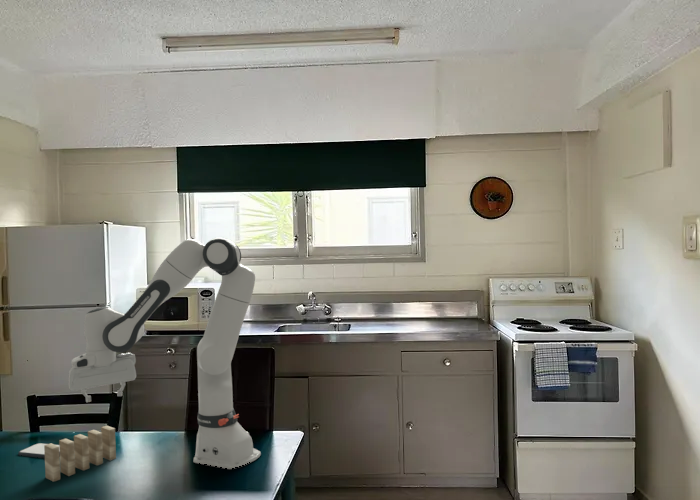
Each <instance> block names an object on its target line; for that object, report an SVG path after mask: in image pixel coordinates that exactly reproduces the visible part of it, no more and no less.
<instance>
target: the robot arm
mask: <svg viewBox="0 0 700 500" xmlns="http://www.w3.org/2000/svg"><path fill="white" fill-rule="evenodd" d="M241 259H242V252H241V249H240V248H239V246H238V245H237V244H236V243H235V242H234V241H232V240H231V239H228V238H224V237H214V238H212V239H210V240H208V242H206V244H204V243H203V242H201V241H199V240H197V239H194V238H188V239H185V240H183V241H182V242H181V243H180V244H179V245H177V246H176V247H175V248H174V249H173V250H172V251H170V253H169V254H168V255H167V256H166V258H165V259H164V260H163V261H162V262H161V264H160V265H159V267H158V268H157V270H156V271H155V273H154V274H153V276H152V278H151V280H150V281H149V283H148V285H147V287H146V288H145V290H144V292H143V293H142V294H141V295H140V296H139V297H138V298H137V300H136V301H135V302H133V304H132V306H130V308H129V309H128V310H127V311H126V312H125V313H123V312H120V311H117V310H115V309H113V308H112V307H110V306H102V307H101V306H100V307H98V308H94V309H92V310H89V311H88V312H86V314H85V316H84V322H83V324H84V326H83V327H84V339H85V340H86V346H85V353H82V354H81V355H78V356H76V357H74V358H72V359H71V361H70V363H71V367H70V369H69V371H68V389H69V390H70V391H71V392H76V391H77V392H78V391H81V394H82V395H83V396H84V397H85V402H86V403H90V402H91V403H92V396H91V395H88V394H87V390H88V389H93V388H98V387H104V386H110V385H115V384H120V388H119V389H118V390H116V393H117V394H116V395H117V397H122V396H123V391H124V389H125V387H126V382H130V381H131V382H133V381H135V380H136V378H137V371H136V367H135V365H136V363H137V359H136V355H135V354H134V353H131V352H127V351H129V350H131V349H132V347H134V345H135V344H136V343H137V342H138V341H140V340H141V338H142V337H143V336H144V335H145V331H146V325H145V323H146V321H148V319H149V318H150V317H151V316H152V314H154V312H155V311H156V310H157V309H158V308H160V306H161V305H162V304H163V303H165V302H166V301H168V300H169V299H171V298H172V297H175V296H176V295H178V294H179V293H180V292H181V291H182V290H183V289H184V288H186V287H187V286H189V284H190V283H191V282H192V280H193V279H194V278H195V277H196V275H197V274H198V273H199V272H200V271H201V270H202V269H203V268H206V267H208V268H210V269H211V270H213V271H215V273H217V274H218V275H220V276H221V283H220V286H219V289H218V291H217V294H216V297H215V300H214V302H213V305H212V308H211V311H210V313H209V317H208V320H207V325H206V327H205V330H204V333H203V336H202V338H201V339H200V340H199V342H198V344H197V347H196V361H197V362H196V364H197V391H198V393H197V396H198V397H197V398H198V412H197V416H196V417H197V424H198V431H197V433H196V439H195V440H196V442H195V453H194V454H195V455H194V457H193V463H195V464H199V463H200V464H201V465H204V464H207V465H206V466H210V465H211V466H210V467H215V466H217V467H216V468H220V467H222V468H221V469H225V468H227V470H232V468H234V469H236V468H235V467H238V468H240V467H239V466H241V467H243V466H242V465H244V466H246V465H248V464H250V463H252V462H254V461H256V460H257V459H258V458H260V456H261V455H262V453H261V451H260V450H258V449H257V448H254V443H253V439H252V436H251V435H250V432H248V431H246V430H245V429H244V428H243V427H242V425H241V424H240V423H239V422H238V418H239V415H240V414H239V413H237V414H236V411H235V409H234V402H233V400H234V398H233V396H234V394H233V376H232V360H233V358H234V354H235V351H236V347H237V343H238V340H239V338H240V337H239V336H240V334H241V330H242V325H243V323H244V320H245V316H246V315H247V311H248V309H249V306H250V303H251V301H252V300H251V299H252V296H253V293H254V287H255V283H256V274H255V273H254V271H253V270H252V269H250V268H249V267H248V266H245V265H243V264H242V263H241ZM125 352H126V353H125ZM117 353H119V354H117ZM249 462H250V463H249ZM247 463H248V464H247ZM245 464H246V465H245Z"/></svg>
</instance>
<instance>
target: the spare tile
mask: <svg viewBox="0 0 700 500" xmlns="http://www.w3.org/2000/svg"><path fill="white" fill-rule="evenodd" d="M46 444H47V445H44V451H45V458H44V470H45V474H44V475H45V479H47V480H50V481H52V482H57V481H60V480H61V470H60V456H59V446H57V445H58V444H55V443H52V442H51V443H46Z"/></svg>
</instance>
